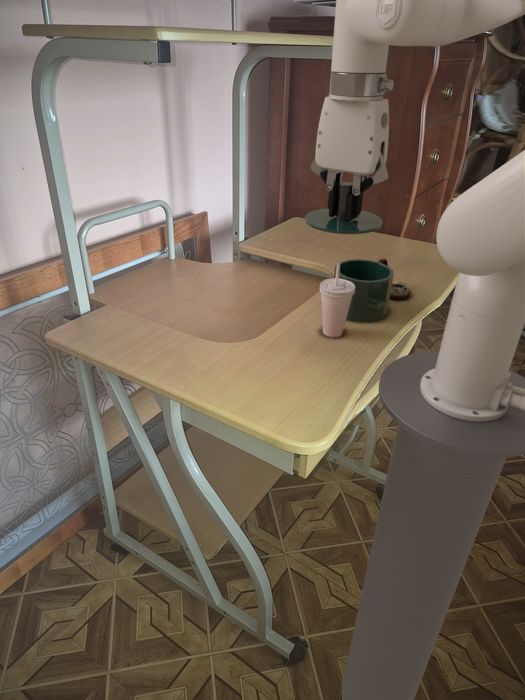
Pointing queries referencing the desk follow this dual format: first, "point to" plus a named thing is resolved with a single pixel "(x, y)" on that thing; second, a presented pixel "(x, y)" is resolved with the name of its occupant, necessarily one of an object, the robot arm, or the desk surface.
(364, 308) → the pot
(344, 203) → the lid
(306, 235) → the desk surface
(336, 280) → the smoothie
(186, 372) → the desk surface
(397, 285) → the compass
